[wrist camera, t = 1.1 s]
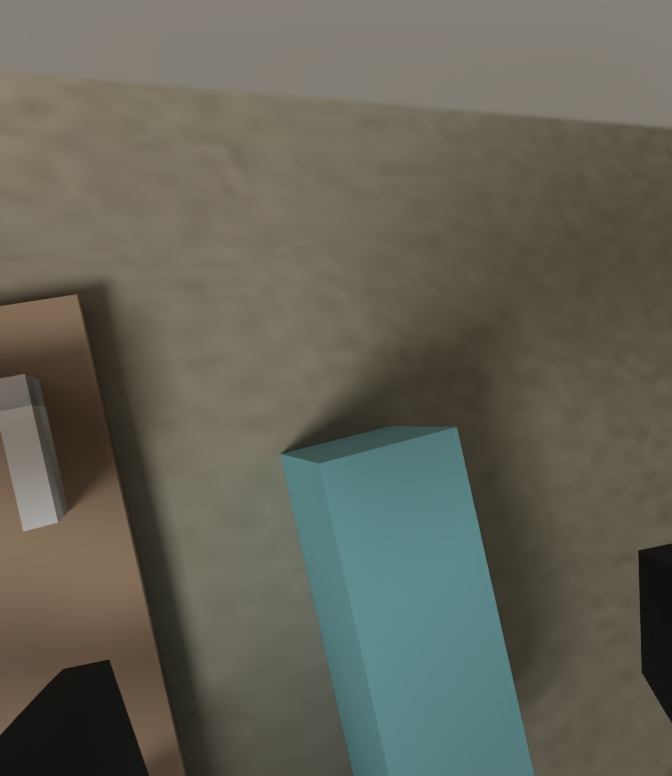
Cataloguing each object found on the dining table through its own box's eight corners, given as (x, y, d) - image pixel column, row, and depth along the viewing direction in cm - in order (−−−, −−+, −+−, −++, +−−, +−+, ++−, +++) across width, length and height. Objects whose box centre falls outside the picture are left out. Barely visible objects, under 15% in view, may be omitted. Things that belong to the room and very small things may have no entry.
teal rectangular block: (462, 755, 21) (551, 852, 17) (358, 802, 20) (422, 921, 15) (388, 425, 21) (457, 427, 16) (279, 453, 20) (318, 463, 15)
